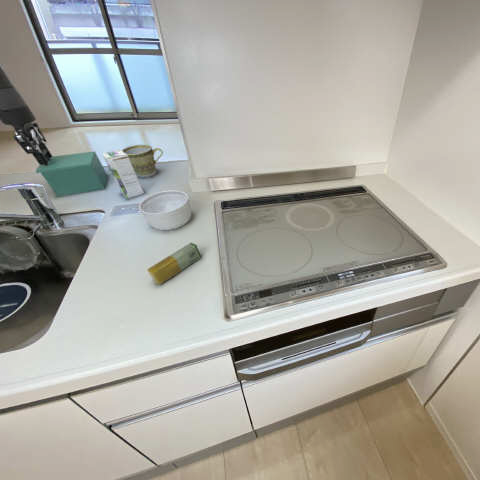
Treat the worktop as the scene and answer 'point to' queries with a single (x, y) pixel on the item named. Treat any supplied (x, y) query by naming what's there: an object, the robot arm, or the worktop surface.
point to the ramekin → (166, 209)
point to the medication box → (174, 263)
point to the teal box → (77, 179)
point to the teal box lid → (66, 161)
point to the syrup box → (123, 173)
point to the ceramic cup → (142, 159)
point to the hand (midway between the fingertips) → (46, 160)
